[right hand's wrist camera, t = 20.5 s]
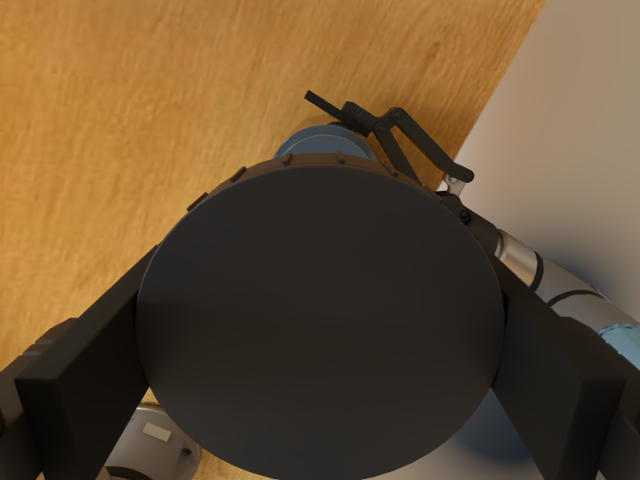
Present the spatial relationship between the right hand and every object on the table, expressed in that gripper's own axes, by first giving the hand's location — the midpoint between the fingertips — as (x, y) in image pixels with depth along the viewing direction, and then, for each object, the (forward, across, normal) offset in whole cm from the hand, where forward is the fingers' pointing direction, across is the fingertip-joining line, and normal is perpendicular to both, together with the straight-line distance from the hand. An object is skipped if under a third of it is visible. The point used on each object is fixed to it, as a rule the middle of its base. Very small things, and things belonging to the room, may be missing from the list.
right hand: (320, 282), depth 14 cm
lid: (-3, 0, 0) cm, 3 cm away
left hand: (+26, -4, +2) cm, 27 cm away
